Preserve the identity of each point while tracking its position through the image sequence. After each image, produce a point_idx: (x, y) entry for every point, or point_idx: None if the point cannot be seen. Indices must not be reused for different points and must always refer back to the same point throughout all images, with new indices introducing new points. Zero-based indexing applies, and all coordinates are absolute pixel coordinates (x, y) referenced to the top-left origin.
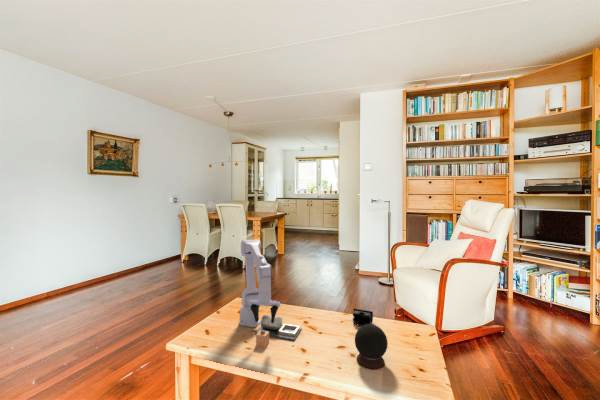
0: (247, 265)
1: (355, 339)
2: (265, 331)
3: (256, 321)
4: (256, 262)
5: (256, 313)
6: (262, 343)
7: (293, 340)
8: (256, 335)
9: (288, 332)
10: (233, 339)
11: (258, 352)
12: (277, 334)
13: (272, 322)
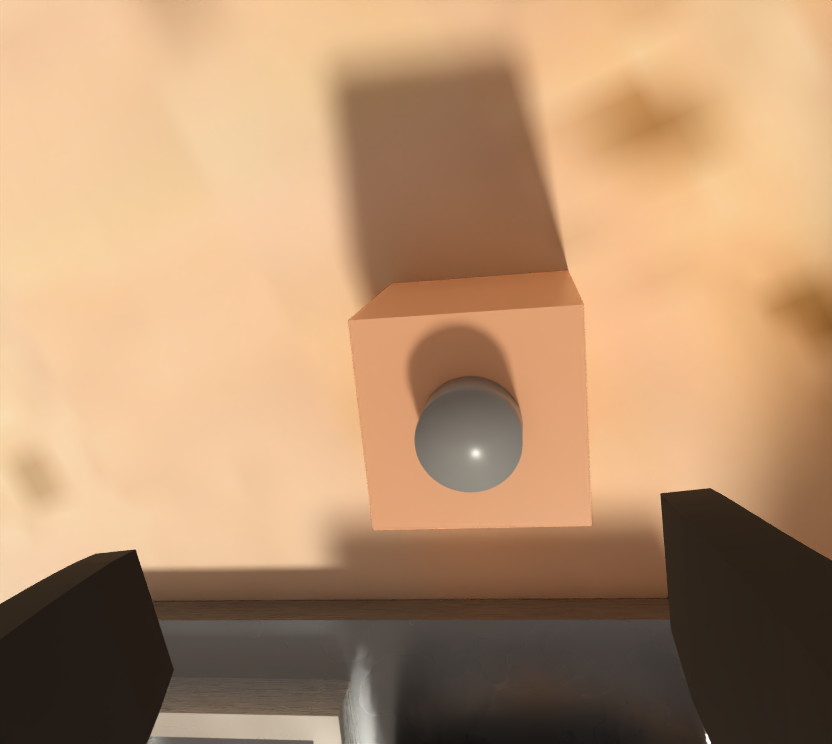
0: None
1: None
2: (452, 507)
3: (677, 494)
4: None
5: (806, 739)
6: (437, 287)
7: None
8: (574, 301)
9: (168, 713)
10: None
11: (409, 72)
12: (361, 659)
13: (84, 560)
